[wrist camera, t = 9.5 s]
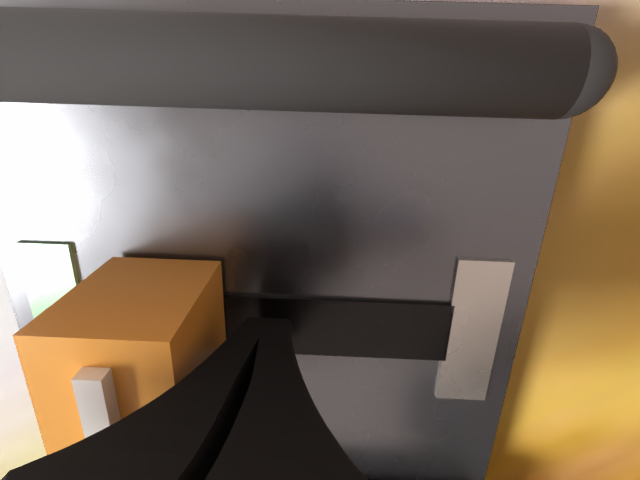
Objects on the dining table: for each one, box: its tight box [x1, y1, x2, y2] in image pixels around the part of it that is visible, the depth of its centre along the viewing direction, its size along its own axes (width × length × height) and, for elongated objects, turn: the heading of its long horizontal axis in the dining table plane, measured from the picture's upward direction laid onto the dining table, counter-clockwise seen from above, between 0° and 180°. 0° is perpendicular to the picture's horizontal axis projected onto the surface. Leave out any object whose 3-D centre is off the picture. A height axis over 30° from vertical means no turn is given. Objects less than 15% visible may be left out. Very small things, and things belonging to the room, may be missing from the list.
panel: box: [0, 0, 599, 480], centre depth 13 cm, size 18×16×1 cm
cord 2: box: [0, 7, 618, 120], centre depth 9 cm, size 2×16×2 cm, turn 89°
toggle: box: [13, 257, 226, 455], centre depth 11 cm, size 4×3×4 cm
